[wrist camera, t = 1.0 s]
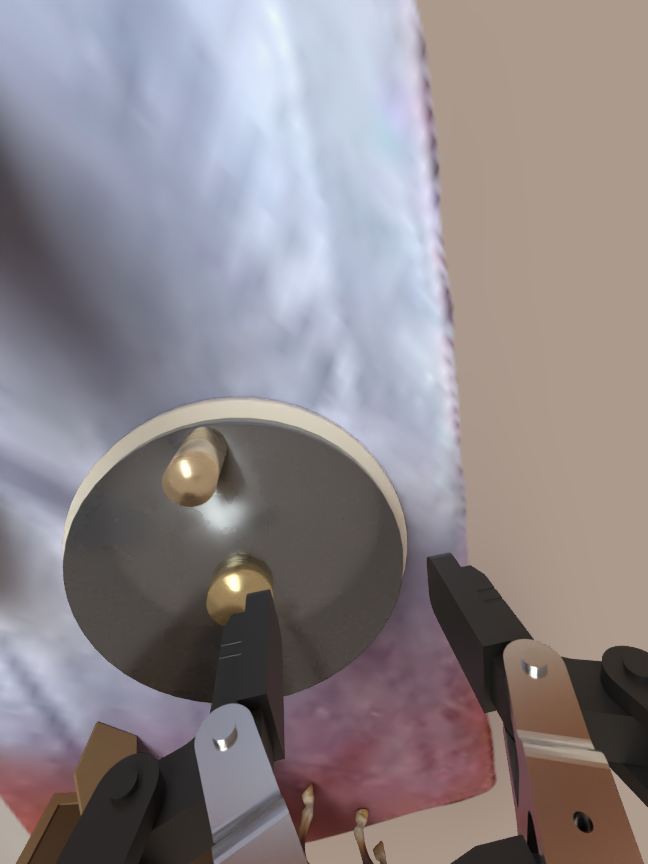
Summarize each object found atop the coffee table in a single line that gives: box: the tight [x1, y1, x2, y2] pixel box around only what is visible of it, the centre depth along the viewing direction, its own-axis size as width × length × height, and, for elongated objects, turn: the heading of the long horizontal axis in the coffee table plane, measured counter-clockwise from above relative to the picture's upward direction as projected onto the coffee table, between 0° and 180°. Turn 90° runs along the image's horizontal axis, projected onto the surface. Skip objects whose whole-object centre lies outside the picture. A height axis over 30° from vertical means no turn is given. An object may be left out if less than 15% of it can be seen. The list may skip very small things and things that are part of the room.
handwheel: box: [63, 418, 403, 703], centre depth 31 cm, size 27×27×8 cm
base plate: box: [63, 397, 407, 577], centre depth 36 cm, size 29×29×2 cm
